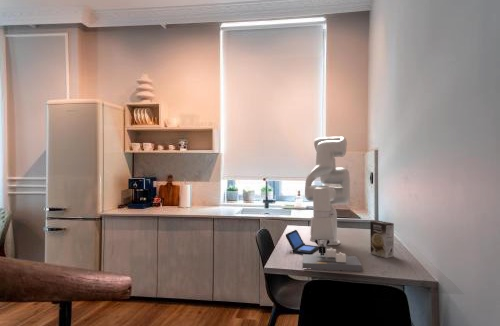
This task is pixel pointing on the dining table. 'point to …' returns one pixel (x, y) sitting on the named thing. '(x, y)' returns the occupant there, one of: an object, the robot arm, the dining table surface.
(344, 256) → the white small block
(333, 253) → the inner tab
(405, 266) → the dining table surface
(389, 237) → the coffee box
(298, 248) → the handheld game console
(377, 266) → the dining table surface
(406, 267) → the dining table surface
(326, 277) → the dining table surface
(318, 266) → the switch panel
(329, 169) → the robot arm
